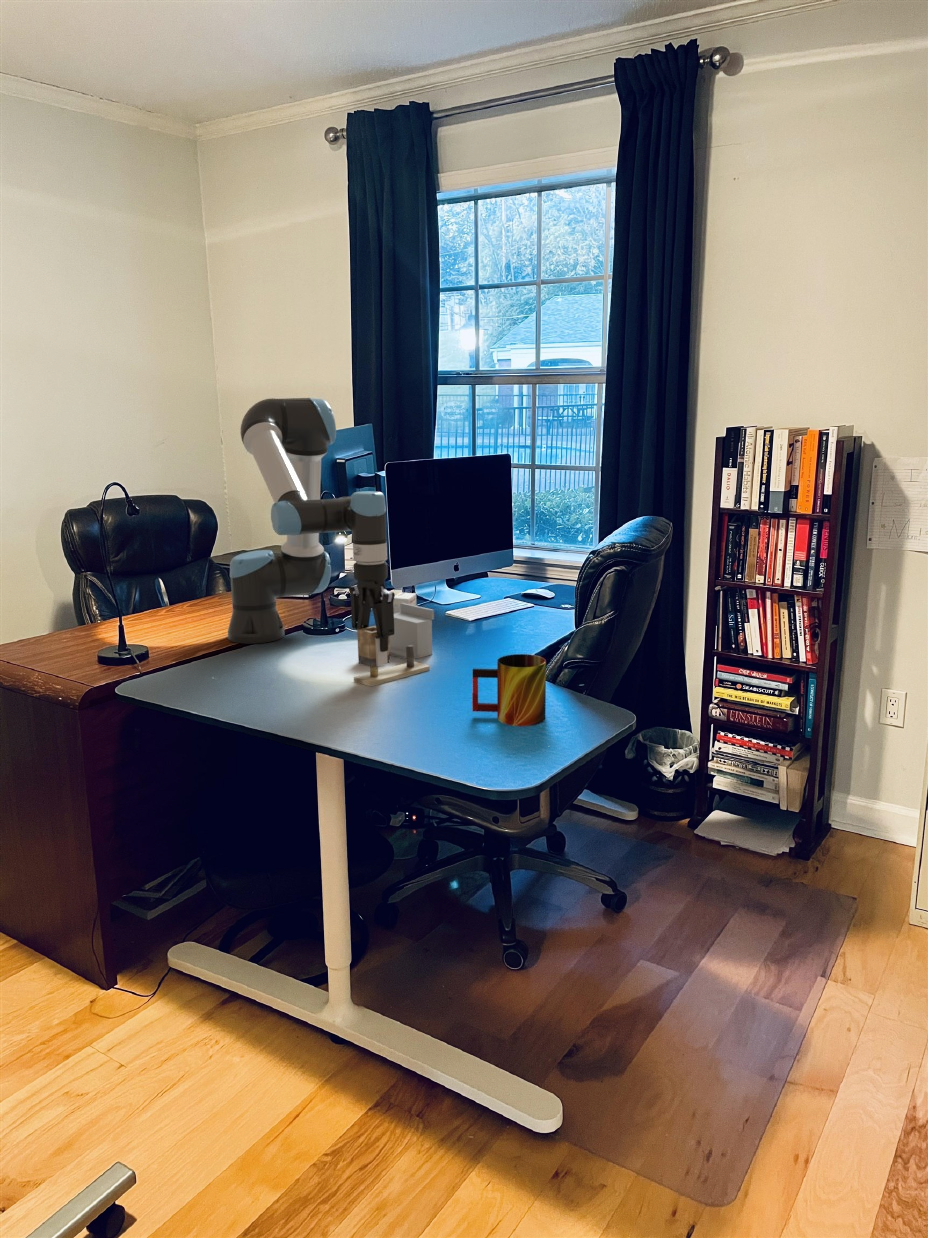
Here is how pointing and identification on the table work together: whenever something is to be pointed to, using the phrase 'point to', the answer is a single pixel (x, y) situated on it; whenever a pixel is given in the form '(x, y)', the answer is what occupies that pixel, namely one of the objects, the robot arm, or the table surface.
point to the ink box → (403, 600)
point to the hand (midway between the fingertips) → (373, 662)
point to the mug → (515, 690)
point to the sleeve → (368, 646)
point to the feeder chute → (412, 631)
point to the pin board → (393, 671)
